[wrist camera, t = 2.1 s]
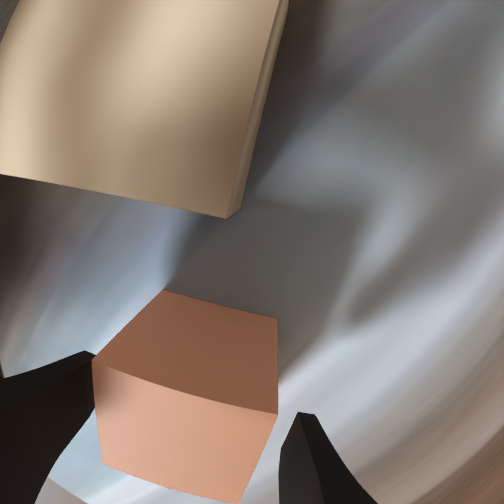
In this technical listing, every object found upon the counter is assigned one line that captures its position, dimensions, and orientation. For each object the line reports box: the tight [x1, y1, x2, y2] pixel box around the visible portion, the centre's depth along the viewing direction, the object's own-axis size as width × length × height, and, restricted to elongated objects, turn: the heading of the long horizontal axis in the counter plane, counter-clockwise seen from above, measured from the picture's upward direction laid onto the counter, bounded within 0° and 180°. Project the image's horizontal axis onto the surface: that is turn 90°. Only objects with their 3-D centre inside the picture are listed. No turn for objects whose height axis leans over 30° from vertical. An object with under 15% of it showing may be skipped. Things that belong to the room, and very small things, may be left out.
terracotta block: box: [92, 290, 278, 504], centre depth 10 cm, size 5×5×6 cm
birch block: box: [0, 0, 289, 219], centre depth 9 cm, size 12×9×4 cm
